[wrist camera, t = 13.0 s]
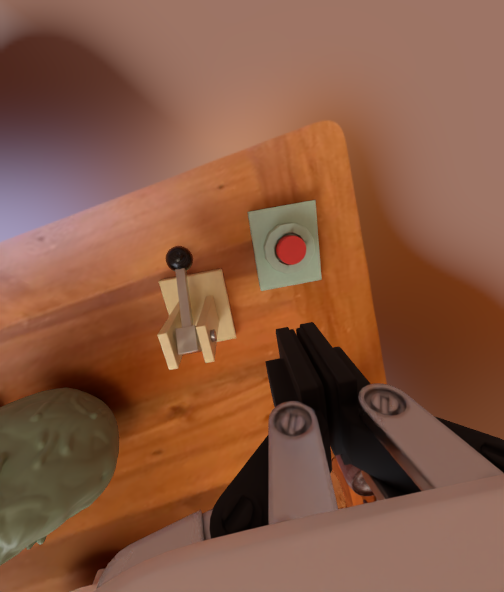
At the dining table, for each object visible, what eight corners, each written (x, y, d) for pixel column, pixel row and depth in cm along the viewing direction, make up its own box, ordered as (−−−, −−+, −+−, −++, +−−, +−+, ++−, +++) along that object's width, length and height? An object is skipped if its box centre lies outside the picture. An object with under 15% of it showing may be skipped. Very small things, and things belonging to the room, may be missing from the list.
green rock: (138, 445, 44) (66, 620, 25) (23, 435, 41) (-157, 622, 22) (145, 373, 39) (64, 519, 20) (17, 356, 36) (-215, 507, 18)
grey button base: (247, 212, 33) (249, 211, 29) (311, 200, 33) (320, 198, 30) (259, 287, 36) (262, 294, 33) (317, 277, 36) (326, 282, 33)
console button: (274, 237, 31) (276, 238, 29) (301, 232, 31) (305, 233, 29) (277, 264, 32) (280, 267, 31) (303, 259, 32) (307, 262, 31)
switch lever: (170, 255, 31) (160, 244, 28) (194, 250, 31) (187, 239, 28) (181, 355, 28) (171, 355, 25) (207, 350, 28) (202, 349, 25)
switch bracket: (160, 279, 35) (127, 308, 23) (221, 268, 35) (217, 291, 24) (180, 345, 38) (159, 398, 27) (236, 334, 38) (238, 382, 27)
